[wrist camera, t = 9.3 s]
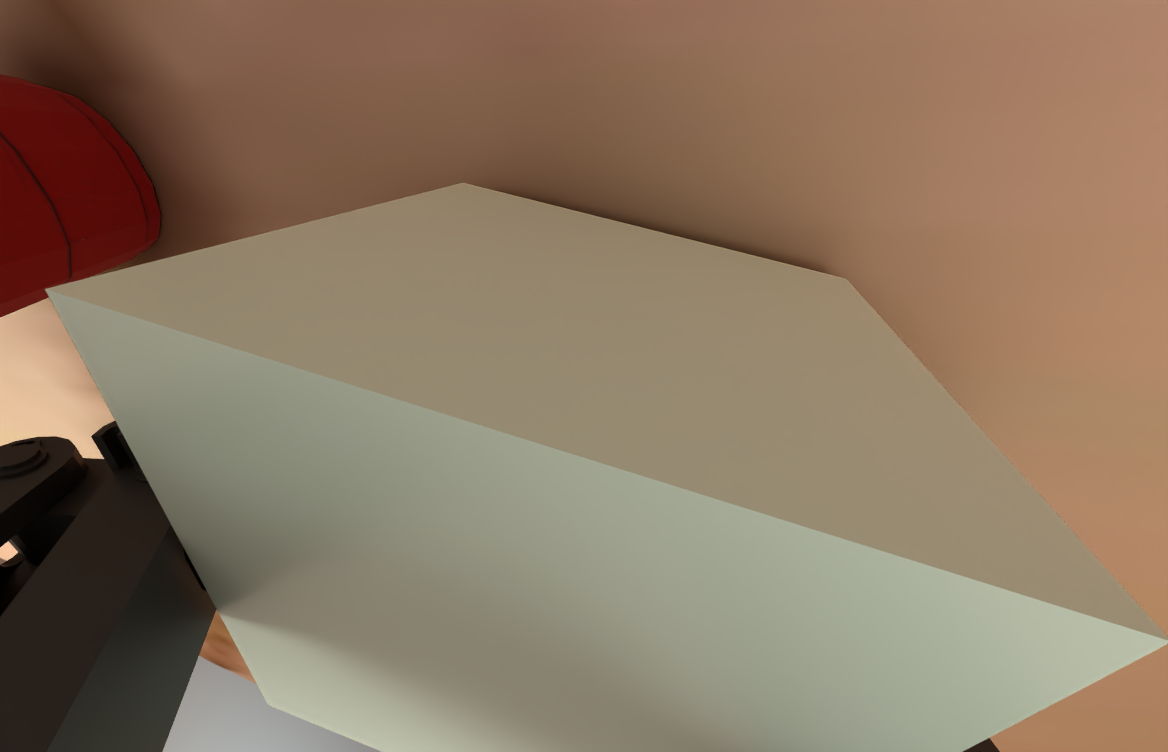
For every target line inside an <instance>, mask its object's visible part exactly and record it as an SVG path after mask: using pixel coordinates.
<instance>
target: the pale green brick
mask: <svg viewBox="0 0 1168 752" xmlns="http://www.w3.org/2000/svg"><path fill="white" fill-rule="evenodd" d="M45 291H46V292H47V294H48V296H49V298H50V300H51V302H52V304H53V305H54V307H55V309H56V311H57V313H58V315H59V317H60V319H61V320H62V322H63V324H64V326H65V328H66V330H67V332H68V333H69V335H70V337H71V339H72V341H73V343H74V345H75V346H76V348H77V350H78V352H79V354H80V356H81V358H82V359H83V361H84V363H85V365H86V367H87V369H88V371H89V372H90V374H91V376H92V378H93V380H94V382H95V384H96V385H97V387H98V389H99V391H100V393H101V395H102V397H103V398H104V400H105V402H106V404H107V406H108V408H109V410H110V412H111V413H112V415H113V417H114V419H115V421H116V423H117V425H118V426H119V428H120V430H121V432H122V434H123V436H124V438H125V439H126V441H127V443H128V445H129V447H130V449H131V451H132V452H133V454H134V456H135V458H136V460H137V462H138V464H139V465H140V467H141V469H142V471H143V473H144V475H145V477H146V478H147V480H148V482H149V484H150V486H151V488H152V490H153V491H154V493H155V495H156V497H157V499H158V501H159V503H160V505H161V506H162V508H163V510H164V512H165V514H166V516H167V518H168V519H169V521H170V523H171V525H172V527H173V529H174V531H175V532H176V534H177V536H178V538H179V540H180V542H181V544H182V545H183V547H184V549H185V551H186V553H187V555H188V557H189V558H190V560H191V562H192V564H193V566H194V568H195V570H196V571H197V573H198V575H199V577H200V579H201V581H202V583H203V584H204V586H205V588H206V590H207V592H208V594H209V596H210V598H211V599H212V601H213V603H214V605H215V607H216V609H217V611H218V612H219V614H220V616H221V618H222V620H223V622H224V624H225V625H226V627H227V629H228V631H229V633H230V635H231V637H232V638H233V640H234V642H235V644H236V646H237V648H238V650H239V651H240V653H241V655H242V657H243V659H244V661H245V663H246V664H247V666H248V668H249V670H250V672H251V674H252V676H253V677H254V679H255V681H256V683H257V685H258V687H259V689H260V691H261V692H262V694H263V696H264V698H265V700H266V702H267V704H268V705H269V706H272V707H274V708H276V709H279V710H281V711H284V712H286V713H289V714H291V715H294V716H296V717H298V718H301V719H303V720H306V721H308V722H311V723H313V724H316V725H318V726H320V727H323V728H325V729H328V730H330V731H333V732H335V733H338V734H340V735H342V736H345V737H348V738H350V739H352V740H355V741H357V742H360V743H362V744H365V745H367V746H370V747H372V748H375V749H377V750H380V751H382V752H963V751H965V750H967V749H969V748H970V747H972V746H974V745H976V744H978V743H980V742H982V741H984V740H986V739H988V738H989V737H991V736H993V735H995V734H997V733H999V732H1001V731H1003V730H1005V729H1007V728H1009V727H1010V726H1012V725H1014V724H1016V723H1018V722H1020V721H1022V720H1024V719H1026V718H1028V717H1029V716H1031V715H1033V714H1035V713H1037V712H1039V711H1041V710H1043V709H1045V708H1047V707H1049V706H1050V705H1052V704H1054V703H1056V702H1058V701H1060V700H1062V699H1064V698H1066V697H1068V696H1069V695H1071V694H1073V693H1075V692H1077V691H1079V690H1081V689H1083V688H1085V687H1087V686H1088V685H1090V684H1092V683H1094V682H1096V681H1098V680H1100V679H1102V678H1104V677H1106V676H1108V675H1109V674H1111V673H1113V672H1115V671H1117V670H1119V669H1121V668H1123V667H1125V666H1127V665H1128V664H1130V663H1132V662H1134V661H1136V660H1138V659H1140V658H1142V657H1144V656H1146V655H1148V654H1149V653H1151V652H1153V651H1155V650H1157V649H1159V648H1161V647H1163V646H1165V645H1167V644H1168V637H1167V636H1166V635H1165V633H1164V632H1163V631H1162V630H1161V629H1160V628H1159V627H1158V626H1157V625H1156V623H1155V622H1154V621H1153V620H1152V619H1151V618H1150V617H1149V616H1148V615H1147V613H1146V612H1145V611H1144V610H1143V609H1142V608H1141V607H1140V606H1139V604H1138V603H1137V602H1136V601H1135V600H1134V599H1133V598H1132V597H1131V596H1130V594H1129V593H1128V592H1127V591H1126V590H1125V589H1124V588H1123V587H1122V586H1121V584H1120V583H1119V582H1118V581H1117V580H1116V579H1115V578H1114V577H1113V575H1112V574H1111V573H1110V572H1109V571H1108V570H1107V569H1106V568H1105V567H1104V565H1103V564H1102V563H1101V562H1100V561H1099V560H1098V559H1097V558H1096V557H1095V555H1094V554H1093V553H1092V552H1091V551H1090V550H1089V549H1088V548H1087V546H1086V545H1085V544H1084V543H1083V542H1082V541H1081V540H1080V539H1079V538H1078V536H1077V535H1076V534H1075V533H1074V532H1073V531H1072V530H1071V529H1070V528H1069V526H1068V525H1067V524H1066V523H1065V522H1064V521H1063V520H1062V519H1061V517H1060V516H1059V515H1058V514H1057V513H1056V512H1055V511H1054V510H1053V509H1052V507H1051V506H1050V505H1049V504H1048V503H1047V502H1046V501H1045V500H1044V499H1043V497H1042V496H1041V495H1040V494H1039V493H1038V492H1037V491H1036V490H1035V488H1034V487H1033V486H1032V485H1031V484H1030V483H1029V482H1028V481H1027V480H1026V478H1025V477H1024V476H1023V475H1022V474H1021V473H1020V472H1019V471H1018V470H1017V468H1016V467H1015V466H1014V465H1013V464H1012V463H1011V462H1010V461H1009V459H1008V458H1007V457H1006V456H1005V455H1004V454H1003V453H1002V452H1001V451H1000V449H999V448H998V447H997V446H996V445H995V444H994V443H993V442H992V441H991V439H990V438H989V437H988V436H987V435H986V434H985V433H984V432H983V430H982V429H981V428H980V427H979V426H978V425H977V424H976V423H975V422H974V420H973V419H972V418H971V417H970V416H969V415H968V414H967V413H966V412H965V410H964V409H963V408H962V407H961V406H960V405H959V404H958V403H957V401H956V400H955V399H954V398H953V397H952V396H951V395H950V394H949V393H948V391H947V390H946V389H945V388H944V387H943V386H942V385H941V384H940V383H939V381H938V380H937V379H936V378H935V377H934V376H933V375H932V374H931V372H930V371H929V370H928V369H927V368H926V367H925V366H924V365H923V364H922V362H921V361H920V360H919V359H918V358H917V357H916V356H915V355H914V354H913V352H912V351H911V350H910V349H909V348H908V347H907V346H906V345H905V343H904V342H903V341H902V340H901V339H900V338H899V337H898V336H897V335H896V333H895V332H894V331H893V330H892V329H891V328H890V327H889V326H888V325H887V323H886V322H885V321H884V320H883V319H882V318H881V317H880V316H879V315H878V313H877V312H876V311H875V310H874V309H873V308H872V307H871V306H870V304H869V303H868V302H867V301H866V300H865V299H864V298H863V297H862V296H861V294H860V293H859V292H858V291H857V290H856V289H855V288H854V287H853V286H852V284H851V283H850V282H849V281H848V280H847V279H846V278H842V277H838V276H834V275H830V274H826V273H822V272H818V271H814V270H810V269H806V268H802V267H798V266H794V265H790V264H786V263H782V262H778V261H774V260H770V259H766V258H762V257H758V256H754V255H750V254H746V253H742V252H738V251H734V250H730V249H726V248H722V247H718V246H714V245H710V244H706V243H702V242H698V241H694V240H690V239H686V238H682V237H678V236H674V235H670V234H666V233H662V232H658V231H654V230H650V229H646V228H642V227H638V226H634V225H630V224H626V223H622V222H618V221H614V220H610V219H606V218H602V217H598V216H594V215H590V214H586V213H582V212H578V211H574V210H571V209H567V208H563V207H559V206H555V205H551V204H547V203H543V202H539V201H535V200H531V199H527V198H523V197H519V196H515V195H511V194H507V193H503V192H499V191H495V190H491V189H487V188H483V187H479V186H475V185H471V184H467V183H459V184H455V185H451V186H448V187H444V188H440V189H436V190H432V191H428V192H424V193H420V194H416V195H412V196H408V197H404V198H400V199H396V200H393V201H389V202H385V203H381V204H377V205H373V206H369V207H365V208H361V209H357V210H353V211H349V212H345V213H341V214H338V215H334V216H330V217H326V218H322V219H318V220H314V221H310V222H306V223H302V224H298V225H294V226H290V227H286V228H283V229H279V230H275V231H271V232H267V233H263V234H259V235H255V236H251V237H247V238H243V239H239V240H235V241H231V242H228V243H224V244H220V245H216V246H212V247H208V248H204V249H200V250H196V251H192V252H188V253H184V254H180V255H176V256H173V257H169V258H165V259H161V260H157V261H153V262H149V263H145V264H141V265H137V266H133V267H129V268H125V269H121V270H118V271H114V272H110V273H106V274H102V275H98V276H94V277H90V278H86V279H82V280H78V281H74V282H70V283H66V284H63V285H59V286H55V287H51V288H47V289H45Z"/></svg>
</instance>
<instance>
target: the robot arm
mask: <svg viewBox="0 0 1168 752" xmlns="http://www.w3.org/2000/svg"><path fill="white" fill-rule="evenodd" d="M91 437H92V439H93V440H94V442H95V444H96V445H97V447H98V449H99V450H100V452H101V454H102V455H103V457H104V459H90V458H82V456H81V454H80V453H79V451H78V450H77V448H76V447H75V445H74V444H73V443H72V442H71V441H70V440H68V439H64V438H60V437H35V438H30V439H24V440H19V441H15V442H12V443H9V444H6V445H3V446H0V547H1V546H2V545H4V544H5V543H6V542H7V541H9V542H10V543H11V544H12V546H13V547H14V548H15V549H16V550H17V551H18V553H17V554H16V555H15V556H14V557H13V558H11V559H9V560H8V561H6V562H5V563H3V564H1V565H0V752H162V751H163V748H164V746H165V743H166V740H167V738H168V735H169V732H170V730H171V727H172V725H173V722H174V719H175V717H176V714H177V711H178V709H179V706H180V704H181V701H182V698H183V696H184V693H185V690H186V687H187V685H188V682H189V680H190V677H191V674H192V672H193V669H194V667H195V664H196V661H197V659H198V656H199V653H200V651H201V648H202V646H203V643H204V640H205V638H206V635H207V632H208V630H209V627H210V624H211V622H212V619H213V617H214V614H215V611H216V607H215V605H214V603H213V601H212V599H211V598H210V596H209V594H208V592H207V590H206V588H205V586H204V584H203V583H202V581H201V579H200V577H199V575H198V573H197V571H196V570H195V568H194V566H193V564H192V562H191V560H190V558H189V557H188V555H187V553H186V551H185V549H184V547H183V545H182V544H181V542H180V540H179V538H178V536H177V534H176V532H175V531H174V529H173V527H172V525H171V523H170V521H169V519H168V518H167V516H166V514H165V512H164V510H163V508H162V506H161V505H160V503H159V501H158V499H157V497H156V495H155V493H154V491H153V490H152V488H151V486H150V484H149V482H148V480H147V478H146V477H145V475H144V473H143V471H142V469H141V467H140V465H139V464H138V462H137V460H136V458H135V456H134V454H133V452H132V451H131V449H130V447H129V445H128V443H127V441H126V439H125V438H124V436H123V434H122V432H121V430H120V428H119V426H118V425H117V423H116V421H114V422H111V423H109V424H107V425H105V426H103V427H102V428H101V429H100V430H98V431H97V432H96V433H95V434H93V435H92V436H91ZM963 752H1000V751H999V750H998V749H997V748H996V746H995V745H994V744H993V742H992V741H991V740H990V738H988V739H986V740H984V741H982V742H980V743H978V744H976V745H974V746H972V747H970V748H969V749H967V750H965V751H963Z"/></svg>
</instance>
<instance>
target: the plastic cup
mask: <svg viewBox="0 0 1168 752" xmlns="http://www.w3.org/2000/svg"><path fill="white" fill-rule="evenodd" d="M160 219H161V214H160V210H159V207H158V203H157V199H156V196H155V192H154V188H153V185H152V183H151V182H150V180H149V178H148V176H147V174H146V173H145V171H144V169H143V167H142V165H141V164H140V162H139V160H138V158H137V156H136V155H135V153H134V151H133V150H132V149H131V148H130V147H129V145H128V144H127V143H126V142H125V141H124V139H123V138H122V137H121V136H120V135H119V134H118V132H117V131H116V130H115V129H114V128H113V126H112V125H111V124H110V123H109V122H108V121H107V120H106V119H105V118H104V117H102V116H101V115H100V114H98V113H97V112H96V111H94V110H93V109H92V108H91V107H89V106H88V105H87V104H85V103H84V102H83V101H81V100H80V99H79V98H78V97H75V96H72V95H69V94H67V93H64V92H61V91H58V90H56V89H53V88H50V87H45V86H40V85H37V84H34V83H31V82H29V81H26V80H23V79H20V78H15V77H10V76H4V75H0V317H2V316H5V315H7V314H10V313H12V312H14V311H17V310H19V309H22V308H24V307H26V306H29V305H31V304H34V303H36V302H39V301H41V300H43V299H46V298H48V297H49V296H48V294H47V292H46V291H45V289H47V288H51V287H55V286H59V285H63V284H66V283H70V282H74V281H78V280H82V279H85V278H88V277H90V276H93V275H95V274H98V273H100V272H102V271H105V270H107V269H110V268H112V267H115V266H117V265H119V264H122V263H124V262H127V261H129V260H131V259H133V258H134V257H135V256H136V255H137V254H138V253H140V252H143V251H145V250H147V249H148V248H149V247H150V246H151V245H152V244H153V243H154V242H155V241H156V240H157V239H158V238H159V229H160Z"/></svg>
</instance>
